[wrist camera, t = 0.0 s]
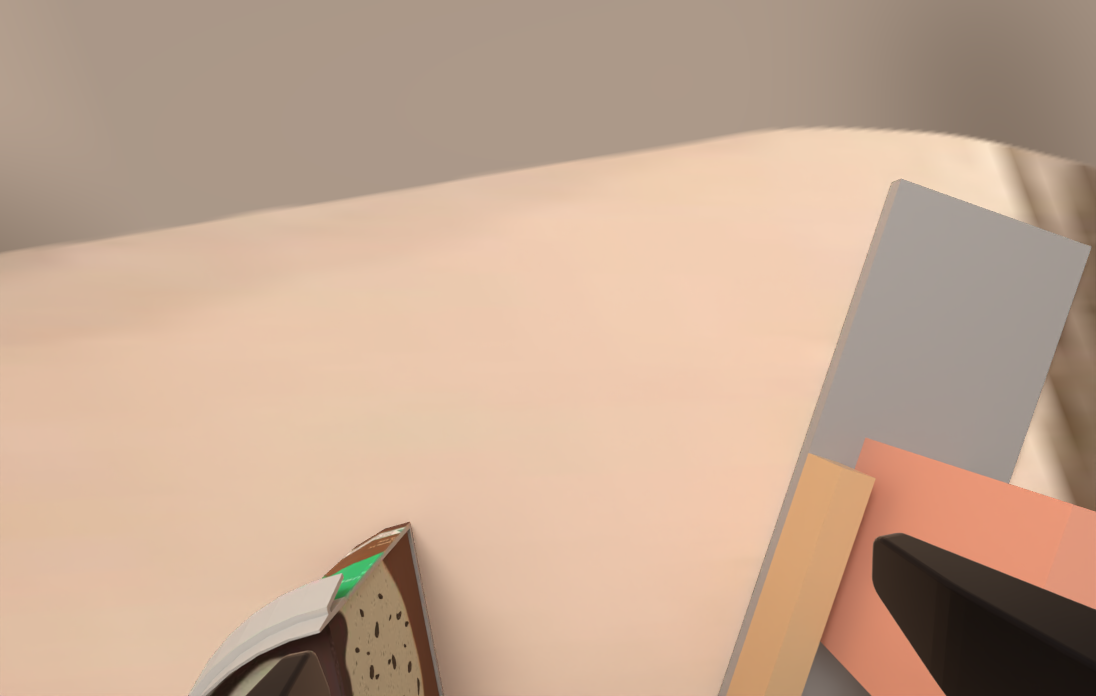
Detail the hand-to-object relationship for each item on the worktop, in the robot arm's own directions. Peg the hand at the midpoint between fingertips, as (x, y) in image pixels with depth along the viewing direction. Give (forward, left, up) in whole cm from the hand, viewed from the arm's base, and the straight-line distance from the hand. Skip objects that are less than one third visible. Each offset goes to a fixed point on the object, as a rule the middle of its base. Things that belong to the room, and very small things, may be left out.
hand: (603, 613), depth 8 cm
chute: (+6, -15, -15) cm, 23 cm away
